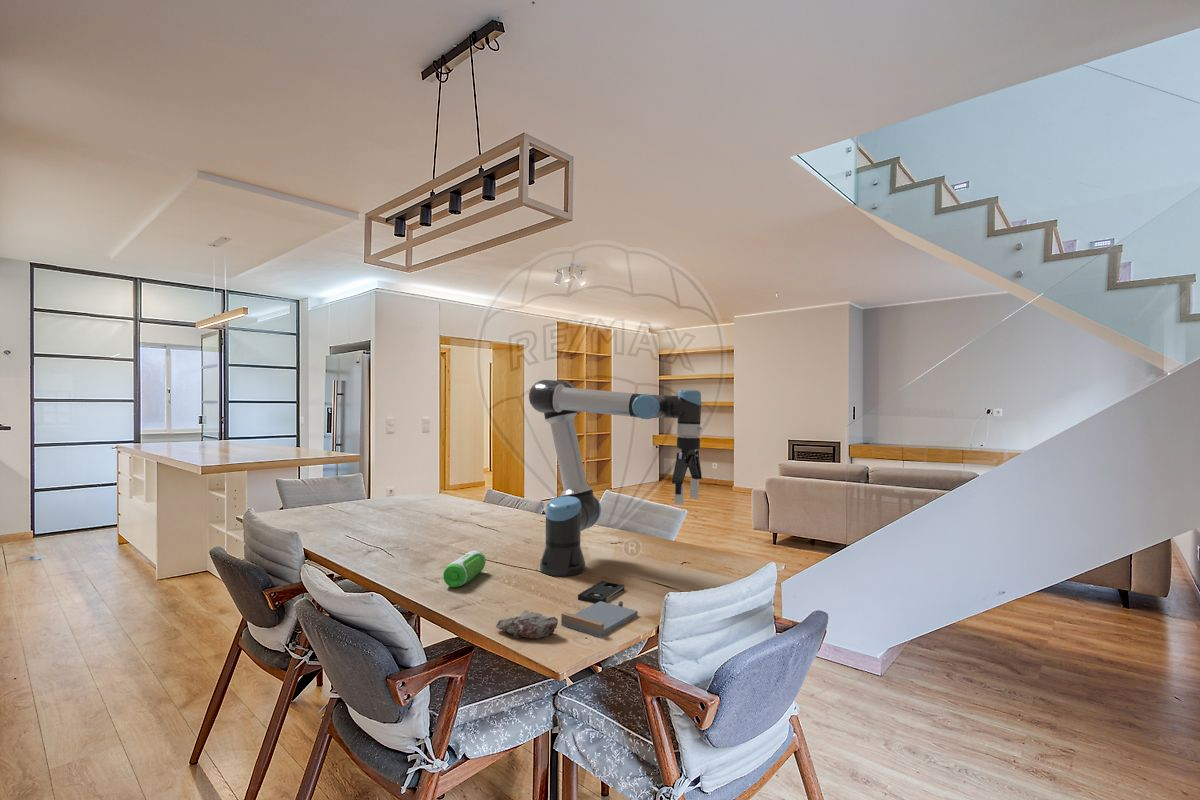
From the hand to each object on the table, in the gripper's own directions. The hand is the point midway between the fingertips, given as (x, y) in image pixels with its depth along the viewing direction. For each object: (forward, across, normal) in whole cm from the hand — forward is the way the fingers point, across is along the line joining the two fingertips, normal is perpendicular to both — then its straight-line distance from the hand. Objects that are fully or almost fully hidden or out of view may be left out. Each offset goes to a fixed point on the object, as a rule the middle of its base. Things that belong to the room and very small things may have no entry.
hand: (686, 501), depth 186 cm
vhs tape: (+25, -32, +13) cm, 43 cm away
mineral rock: (+24, -66, +15) cm, 72 cm away
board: (+24, -49, +4) cm, 55 cm away
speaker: (+25, -43, +56) cm, 75 cm away
